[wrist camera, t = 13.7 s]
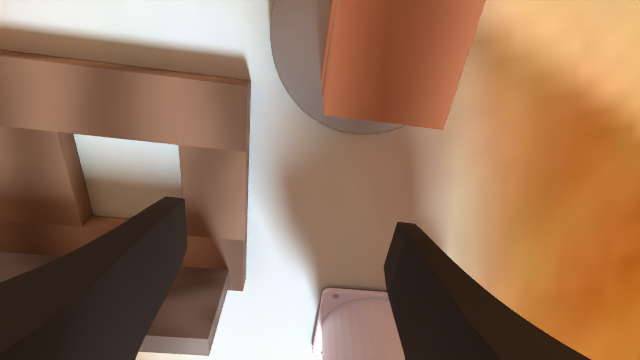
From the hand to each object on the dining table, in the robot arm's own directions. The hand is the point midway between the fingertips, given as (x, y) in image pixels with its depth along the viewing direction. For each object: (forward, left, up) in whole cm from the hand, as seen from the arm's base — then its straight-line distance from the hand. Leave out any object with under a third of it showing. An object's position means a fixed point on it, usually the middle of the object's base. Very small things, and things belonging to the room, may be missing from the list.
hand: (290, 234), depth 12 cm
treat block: (-3, -6, -9) cm, 11 cm away
